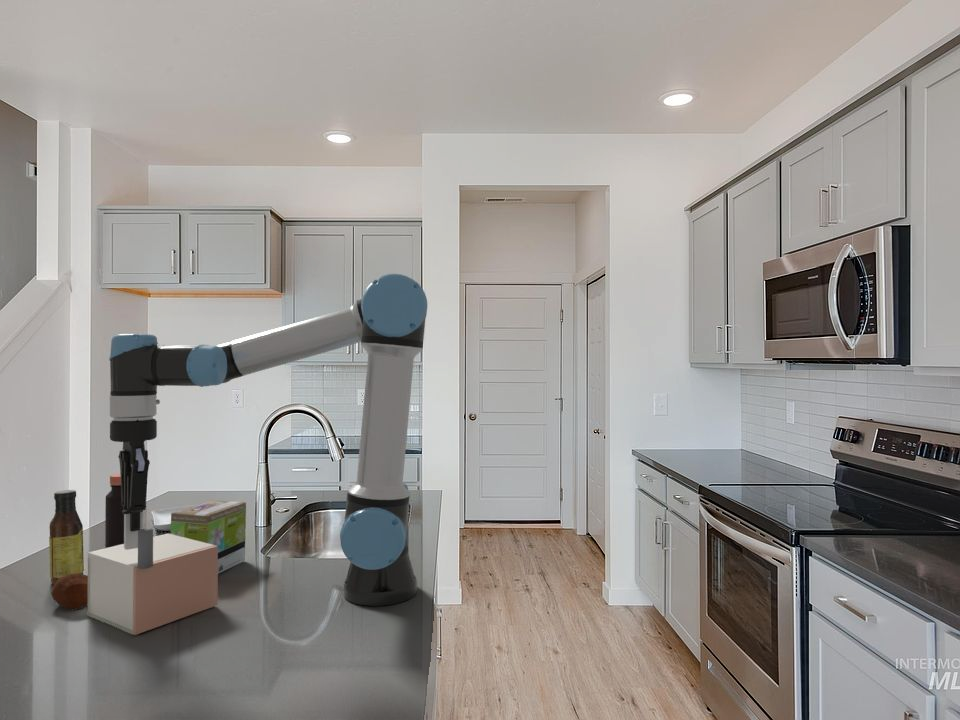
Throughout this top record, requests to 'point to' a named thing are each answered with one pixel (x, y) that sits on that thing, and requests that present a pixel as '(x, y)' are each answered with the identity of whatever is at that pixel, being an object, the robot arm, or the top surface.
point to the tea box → (215, 528)
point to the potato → (71, 591)
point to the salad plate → (165, 517)
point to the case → (125, 577)
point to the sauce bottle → (65, 537)
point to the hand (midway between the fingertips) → (133, 547)
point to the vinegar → (114, 514)
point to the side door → (172, 584)
